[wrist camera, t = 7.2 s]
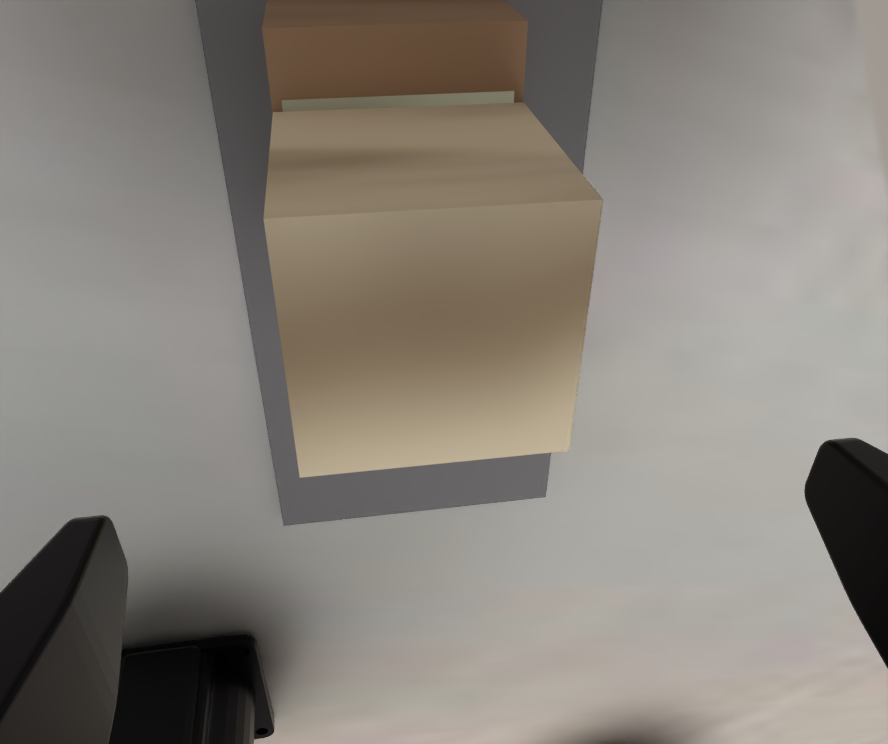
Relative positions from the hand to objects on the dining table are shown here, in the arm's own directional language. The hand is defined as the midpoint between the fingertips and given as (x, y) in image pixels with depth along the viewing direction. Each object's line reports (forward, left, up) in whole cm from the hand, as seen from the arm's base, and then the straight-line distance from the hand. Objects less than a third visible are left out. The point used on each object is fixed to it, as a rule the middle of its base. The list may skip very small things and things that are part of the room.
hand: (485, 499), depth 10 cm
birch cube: (0, 0, -9) cm, 9 cm away
